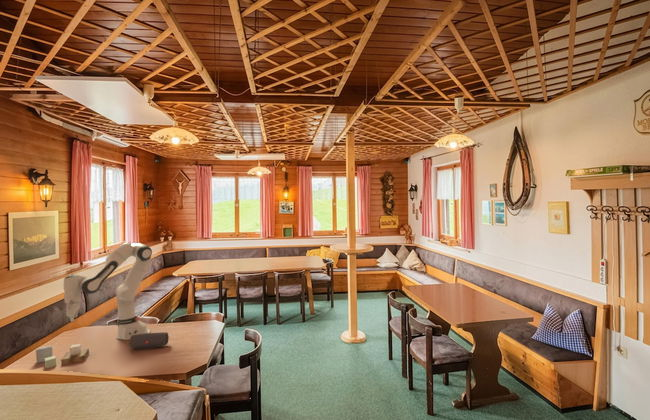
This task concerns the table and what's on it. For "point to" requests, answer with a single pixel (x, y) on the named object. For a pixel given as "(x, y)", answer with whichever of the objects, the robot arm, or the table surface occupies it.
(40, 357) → the medicine box
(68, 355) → the walnut block
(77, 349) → the cream painted cube
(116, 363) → the table surface
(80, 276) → the robot arm
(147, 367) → the table surface
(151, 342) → the bluetooth speaker
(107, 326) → the table surface
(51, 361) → the sage painted cube
